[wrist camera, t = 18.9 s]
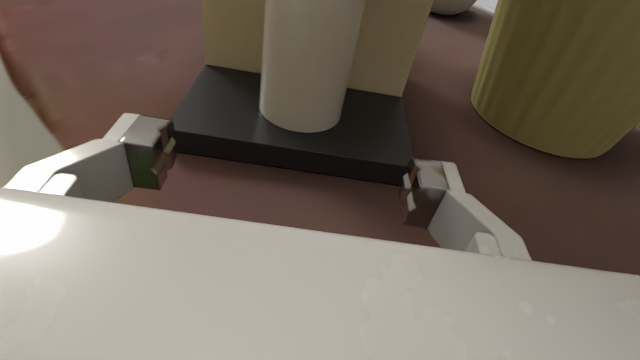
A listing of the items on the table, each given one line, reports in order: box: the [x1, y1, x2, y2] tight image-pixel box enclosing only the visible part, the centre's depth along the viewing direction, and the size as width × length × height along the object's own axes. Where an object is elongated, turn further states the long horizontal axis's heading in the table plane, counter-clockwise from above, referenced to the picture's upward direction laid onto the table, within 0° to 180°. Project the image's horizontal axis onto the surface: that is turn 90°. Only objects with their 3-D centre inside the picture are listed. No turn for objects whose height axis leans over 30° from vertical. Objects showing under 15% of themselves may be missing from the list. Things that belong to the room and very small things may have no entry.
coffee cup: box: [259, 0, 367, 133], centre depth 22 cm, size 5×5×9 cm
